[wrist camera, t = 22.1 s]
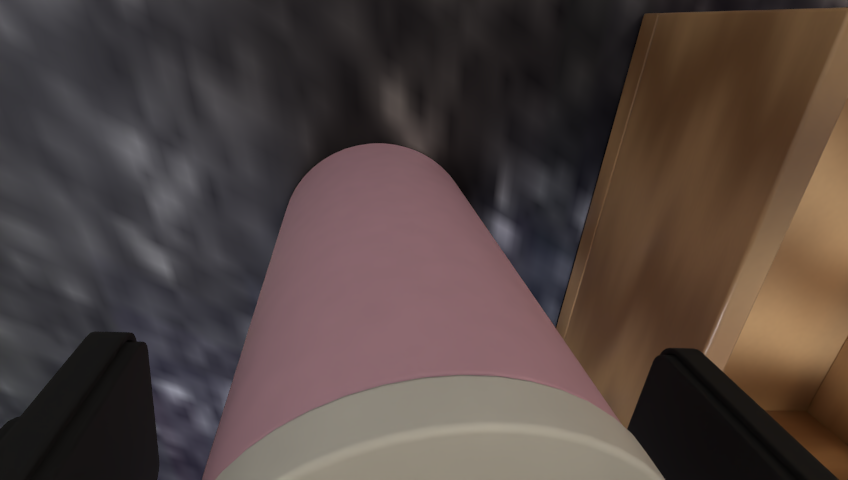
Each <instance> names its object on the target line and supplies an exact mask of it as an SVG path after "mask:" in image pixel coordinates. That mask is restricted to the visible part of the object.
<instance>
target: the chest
mask: <svg viewBox="0 0 848 480" xmlns="http://www.w3.org/2000/svg"><path fill="white" fill-rule="evenodd" d="M556 329H557V331H558V332H559V334H560V335H561V337H562V338H563V340H564V341H565V342H566V344H567V345H568V347H569V348H570V350H571V351H572V353H573V354H574V356H575V357H576V358H577V360H578V361H579V363H580V364H581V366H582V367H583V369H584V370H585V372H586V373H587V374H588V376H589V377H590V379H591V380H592V382H593V383H594V385H595V386H596V387H597V389H598V390H599V392H600V393H601V395H602V396H603V398H604V399H605V401H606V402H607V403H608V405H609V406H610V408H611V409H612V411H613V412H614V414H615V415H616V417H617V418H618V419H619V421H620V422H621V424H622V425H623V426H624V427H625V428H626V429H627V428H628V425H629V423H630V420H631V417H632V415H633V412H634V410H635V407H636V404H637V402H638V399H639V397H640V394H641V391H642V389H643V386H644V384H645V381H646V378H647V376H648V373H649V370H650V368H651V365H652V363H653V360H654V359H655V357H657V356H658V355H660V354H661V352H662V351H663V350H664V349H667V348H693V349H697V350H699V351H701V352H702V353H703V354H704V355H705V356H706V357H708V358H709V359H710V360H711V361H712V362H713V363H714V364H715V365H716V366H717V367H718V368H719V369H720V370H722V371H723V372H724V373H725V374H726V375H727V376H728V377H729V378H730V379H731V380H732V381H733V382H734V383H736V384H737V385H738V386H739V387H740V388H741V389H742V390H743V391H744V392H745V393H746V394H747V395H748V396H750V397H751V398H752V399H753V400H754V401H755V402H756V403H757V404H758V405H759V406H760V407H761V408H762V409H764V410H765V411H766V412H767V413H768V414H769V415H770V416H771V417H772V418H773V419H774V420H775V421H776V422H778V423H779V424H780V425H781V426H782V427H783V428H784V429H785V430H786V431H787V432H788V433H789V434H790V435H791V436H793V437H794V438H795V439H796V440H797V441H798V442H799V443H800V444H801V445H802V446H803V447H804V448H805V449H807V450H808V451H809V452H810V453H811V454H812V455H813V456H814V457H815V458H816V459H817V460H818V461H819V462H821V463H822V464H823V465H824V466H825V467H826V468H827V469H828V470H829V471H830V472H831V473H832V474H833V475H835V476H836V477H837V478H838V479H839V480H848V7H844V8H810V9H777V10H744V11H711V12H677V13H646V14H644V17H643V20H642V24H641V27H640V31H639V34H638V38H637V41H636V45H635V49H634V52H633V56H632V59H631V63H630V66H629V70H628V74H627V77H626V81H625V84H624V88H623V91H622V95H621V99H620V102H619V106H618V109H617V113H616V116H615V120H614V124H613V127H612V131H611V134H610V138H609V141H608V145H607V149H606V152H605V156H604V159H603V163H602V166H601V170H600V173H599V177H598V181H597V184H596V188H595V191H594V195H593V198H592V202H591V206H590V209H589V213H588V216H587V220H586V223H585V227H584V231H583V234H582V238H581V241H580V245H579V248H578V252H577V256H576V259H575V263H574V266H573V270H572V273H571V277H570V280H569V284H568V288H567V291H566V295H565V298H564V302H563V305H562V309H561V313H560V316H559V320H558V323H557V327H556Z"/></svg>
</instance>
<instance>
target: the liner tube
mask: <svg viewBox="0 0 848 480" xmlns="http://www.w3.org/2000/svg"><path fill="white" fill-rule="evenodd" d="M202 480H665V479H664V477H663V476H662V474H661V473H660V471H659V470H658V469H657V467H656V466H655V464H654V463H653V461H652V460H651V459H650V457H649V456H648V454H647V453H646V452H645V450H644V449H643V448H642V446H641V445H640V444H639V442H638V441H637V440H636V438H635V437H634V436H633V434H632V433H631V432H629V431H628V430H627V429H626V428H625V427H624V426H623V425H622V424H621V422H620V421H619V419H618V418H617V417H616V415H615V414H614V412H613V411H612V409H611V408H610V406H609V405H608V403H607V402H606V401H605V399H604V398H603V396H602V395H601V393H600V392H599V390H598V389H597V387H596V386H595V385H594V383H593V382H592V380H591V379H590V377H589V376H588V374H587V373H586V372H585V370H584V369H583V367H582V366H581V364H580V363H579V361H578V360H577V358H576V357H575V356H574V354H573V353H572V351H571V350H570V348H569V347H568V345H567V344H566V342H565V341H564V340H563V338H562V337H561V335H560V334H559V332H558V331H557V329H556V328H555V327H554V325H553V324H552V322H551V321H550V319H549V318H548V316H547V315H546V313H545V312H544V311H543V309H542V308H541V306H540V305H539V303H538V302H537V300H536V299H535V297H534V296H533V295H532V293H531V292H530V290H529V289H528V287H527V286H526V284H525V283H524V282H523V280H522V279H521V277H520V276H519V274H518V273H517V271H516V270H515V268H514V267H513V266H512V264H511V263H510V261H509V260H508V258H507V257H506V255H505V254H504V252H503V251H502V250H501V248H500V247H499V245H498V244H497V242H496V241H495V239H494V238H493V237H492V235H491V234H490V232H489V231H488V229H487V228H486V226H485V225H484V223H483V222H482V221H481V219H480V218H479V216H478V215H477V213H476V212H475V210H474V209H473V207H472V206H471V205H470V203H469V202H468V200H467V199H466V197H465V196H464V194H463V193H462V192H461V190H460V189H459V187H458V186H457V184H456V183H455V182H454V180H453V179H452V177H451V176H450V175H449V174H448V173H447V172H446V171H445V170H444V169H443V168H442V167H441V166H440V165H439V164H438V163H436V162H435V161H434V160H432V159H431V158H429V157H427V156H426V155H424V154H422V153H420V152H418V151H415V150H413V149H410V148H407V147H403V146H399V145H394V144H385V143H371V144H363V145H357V146H353V147H350V148H346V149H343V150H341V151H339V152H336V153H334V154H332V155H330V156H329V157H327V158H325V159H324V160H322V161H321V162H319V163H318V164H317V165H316V166H314V167H313V168H312V169H311V170H310V171H309V172H308V173H307V174H306V175H305V176H304V177H303V179H302V180H301V181H300V183H299V184H298V185H297V187H296V188H295V190H294V192H293V194H292V196H291V198H290V201H289V203H288V206H287V209H286V212H285V215H284V219H283V222H282V225H281V228H280V231H279V235H278V238H277V241H276V244H275V247H274V251H273V254H272V257H271V260H270V263H269V266H268V270H267V273H266V276H265V279H264V282H263V286H262V289H261V292H260V295H259V298H258V302H257V305H256V308H255V311H254V314H253V317H252V321H251V324H250V327H249V330H248V333H247V337H246V340H245V343H244V346H243V349H242V353H241V356H240V359H239V362H238V365H237V369H236V372H235V375H234V378H233V381H232V384H231V388H230V391H229V394H228V397H227V400H226V404H225V407H224V410H223V413H222V416H221V420H220V423H219V426H218V429H217V432H216V435H215V439H214V442H213V445H212V448H211V451H210V455H209V458H208V461H207V464H206V467H205V471H204V474H203V477H202Z"/></svg>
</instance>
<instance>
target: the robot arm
mask: <svg viewBox="0 0 848 480" xmlns="http://www.w3.org/2000/svg"><path fill="white" fill-rule="evenodd" d="M627 430H628V431H629V432H631V433H632V434H633V436H634V437H635V438H636V440H637V441H638V442H639V444H640V445H641V446H642V448H643V449H644V450H645V452H646V453H647V454H648V456H649V457H650V459H651V460H652V461H653V463H654V464H655V466H656V467H657V469H658V470H659V471H660V473H661V474H662V476H663V477H664V479H665V480H839V479H838V478H837V477H836V476H835V475H833V474H832V473H831V472H830V471H829V470H828V469H827V468H826V467H825V466H824V465H823V464H822V463H821V462H819V461H818V460H817V459H816V458H815V457H814V456H813V455H812V454H811V453H810V452H809V451H808V450H807V449H805V448H804V447H803V446H802V445H801V444H800V443H799V442H798V441H797V440H796V439H795V438H794V437H793V436H791V435H790V434H789V433H788V432H787V431H786V430H785V429H784V428H783V427H782V426H781V425H780V424H779V423H778V422H776V421H775V420H774V419H773V418H772V417H771V416H770V415H769V414H768V413H767V412H766V411H765V410H764V409H762V408H761V407H760V406H759V405H758V404H757V403H756V402H755V401H754V400H753V399H752V398H751V397H750V396H748V395H747V394H746V393H745V392H744V391H743V390H742V389H741V388H740V387H739V386H738V385H737V384H736V383H734V382H733V381H732V380H731V379H730V378H729V377H728V376H727V375H726V374H725V373H724V372H723V371H722V370H720V369H719V368H718V367H717V366H716V365H715V364H714V363H713V362H712V361H711V360H710V359H709V358H708V357H706V356H705V355H704V354H703V353H702V352H701V351H699V350H697V349H693V348H667V349H664V350H663V351H662V352H661V354H660V355H658V356H657V357H655V359H654V360H653V363H652V365H651V368H650V370H649V373H648V376H647V378H646V381H645V384H644V386H643V389H642V391H641V394H640V397H639V399H638V402H637V404H636V407H635V410H634V412H633V415H632V417H631V420H630V423H629V425H628V428H627ZM158 472H159V455H158V445H157V435H156V425H155V415H154V406H153V396H152V386H151V376H150V366H149V356H148V348H147V345H146V343H145V342H136V338H135V336H134V334H132V333H125V332H92V333H90V334H89V335H88V336H87V337H86V338H85V339H84V340H83V342H82V343H81V344H80V345H79V346H78V348H77V349H76V350H75V351H74V352H73V354H72V355H71V356H70V357H69V358H68V360H67V361H66V362H65V363H64V364H63V366H62V367H61V368H60V369H59V371H58V372H57V373H56V374H55V375H54V377H53V378H52V379H51V380H50V381H49V383H48V384H47V385H46V386H45V387H44V389H43V390H42V391H41V392H40V393H39V395H38V396H37V397H36V398H35V400H34V401H33V402H32V403H31V404H30V406H29V407H28V408H27V409H26V410H25V412H24V413H23V414H22V415H21V416H20V417H16V418H14V419H12V420H10V421H8V422H7V423H6V424H5V425H4V426H3V427H2V428H1V429H0V480H157V477H158Z"/></svg>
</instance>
